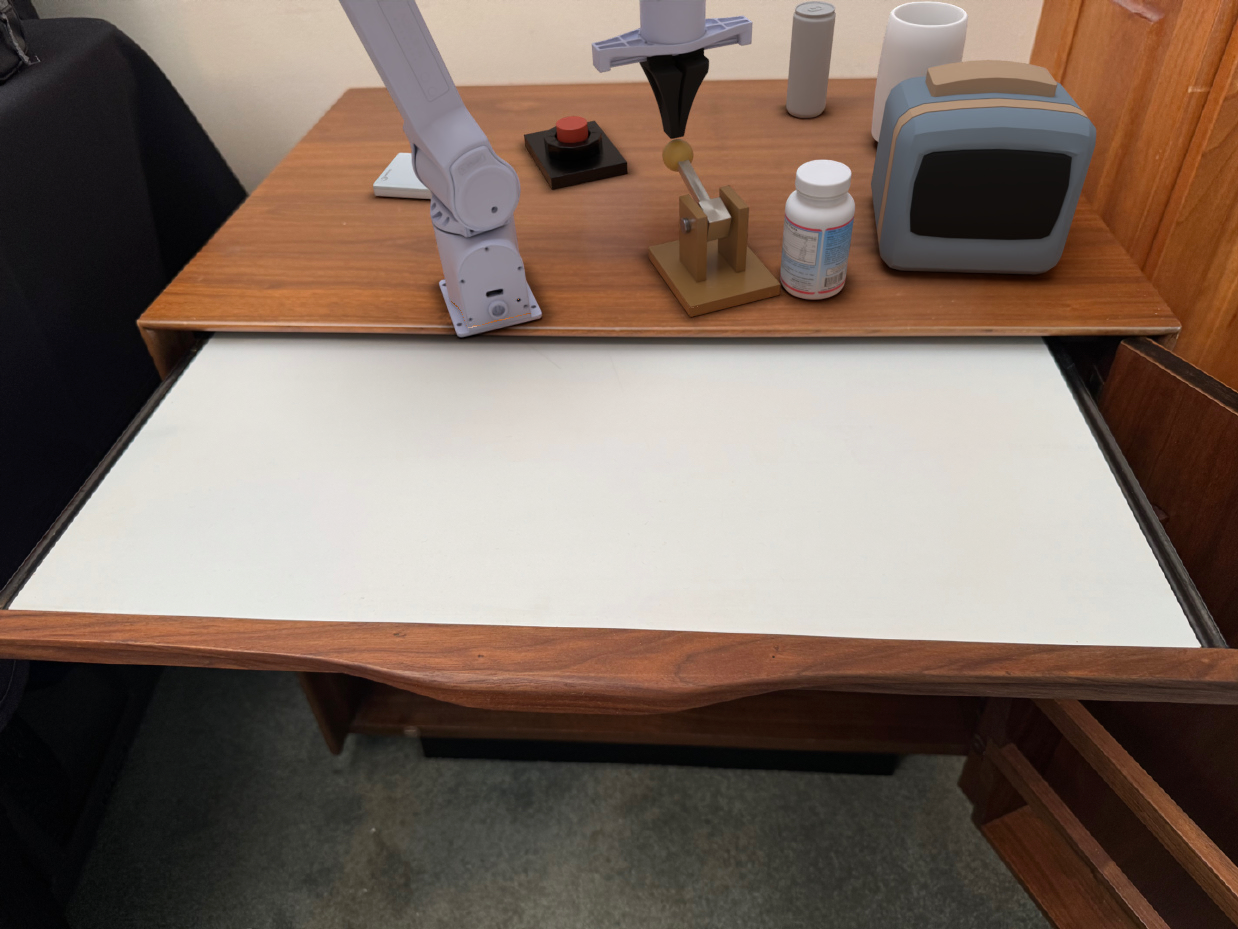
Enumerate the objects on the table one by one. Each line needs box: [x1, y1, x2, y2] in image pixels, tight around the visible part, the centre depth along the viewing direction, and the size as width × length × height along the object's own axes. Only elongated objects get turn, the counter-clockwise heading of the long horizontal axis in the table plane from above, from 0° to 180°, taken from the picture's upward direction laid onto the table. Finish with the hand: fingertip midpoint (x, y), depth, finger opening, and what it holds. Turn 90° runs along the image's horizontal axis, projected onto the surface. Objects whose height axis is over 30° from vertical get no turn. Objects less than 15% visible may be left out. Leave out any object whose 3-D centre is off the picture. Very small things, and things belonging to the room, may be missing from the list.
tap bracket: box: [647, 185, 782, 318], centre depth 82 cm, size 11×9×8 cm
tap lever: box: [661, 138, 732, 242], centre depth 83 cm, size 12×3×3 cm, turn 19°
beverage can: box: [785, 0, 836, 119], centre depth 105 cm, size 5×5×12 cm
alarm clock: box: [870, 59, 1097, 276], centre depth 82 cm, size 16×16×16 cm
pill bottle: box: [779, 159, 856, 300], centre depth 79 cm, size 6×6×11 cm
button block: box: [523, 120, 629, 190], centre depth 102 cm, size 12×9×3 cm
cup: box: [870, 0, 969, 143], centre depth 97 cm, size 8×8×14 cm
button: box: [555, 115, 588, 143], centre depth 101 cm, size 4×4×2 cm
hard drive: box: [372, 152, 432, 200], centre depth 101 cm, size 2×8×12 cm
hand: (673, 133), depth 84 cm, fingers closed
